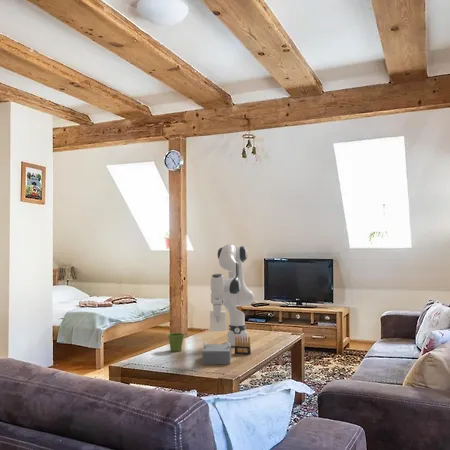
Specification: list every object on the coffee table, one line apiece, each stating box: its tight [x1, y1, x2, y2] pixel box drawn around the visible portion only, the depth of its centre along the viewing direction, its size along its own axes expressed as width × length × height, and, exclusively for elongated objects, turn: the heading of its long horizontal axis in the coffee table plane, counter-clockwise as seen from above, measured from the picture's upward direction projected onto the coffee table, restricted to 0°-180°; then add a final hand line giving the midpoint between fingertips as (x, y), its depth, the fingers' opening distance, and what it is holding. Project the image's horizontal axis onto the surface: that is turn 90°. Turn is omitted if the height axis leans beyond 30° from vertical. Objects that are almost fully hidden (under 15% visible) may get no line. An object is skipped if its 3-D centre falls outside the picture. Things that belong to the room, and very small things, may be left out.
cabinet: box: [201, 342, 232, 365], centre depth 320 cm, size 21×17×11 cm
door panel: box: [209, 310, 227, 332], centre depth 321 cm, size 3×10×12 cm, turn 88°
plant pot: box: [167, 332, 185, 352], centre depth 351 cm, size 12×12×11 cm
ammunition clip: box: [234, 336, 252, 356], centre depth 338 cm, size 11×2×12 cm, turn 73°
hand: (218, 321), depth 321 cm, fingers closed on door panel, 3 cm apart
